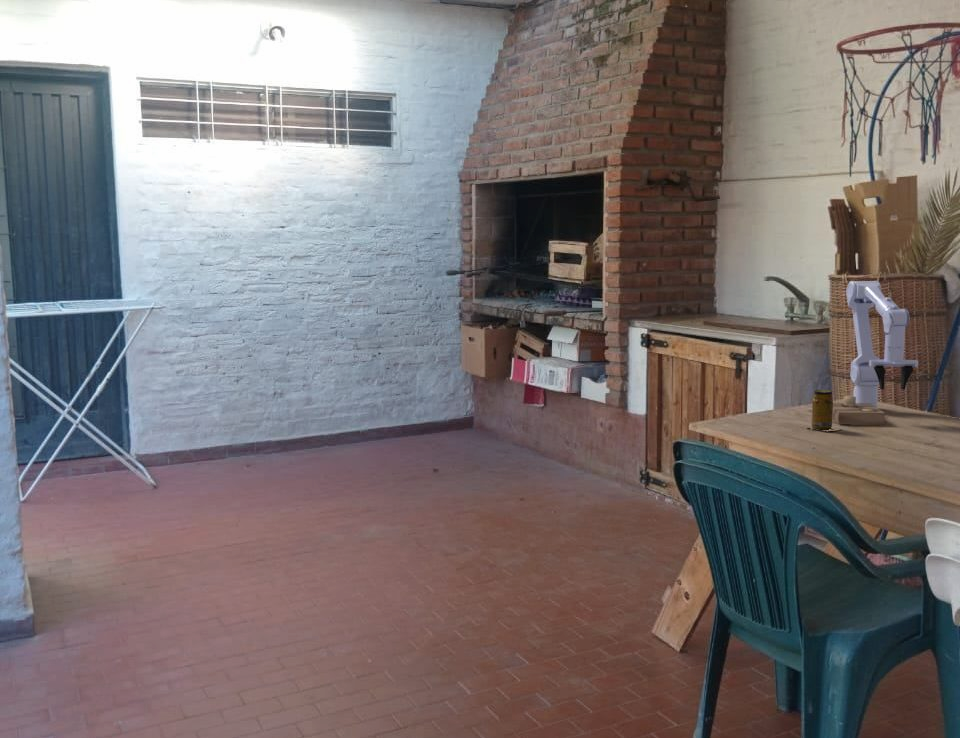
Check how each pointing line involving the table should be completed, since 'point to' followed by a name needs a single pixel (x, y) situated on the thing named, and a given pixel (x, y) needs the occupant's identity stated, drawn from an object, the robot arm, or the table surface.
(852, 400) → the peg
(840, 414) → the board
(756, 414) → the table surface
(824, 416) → the condiment
